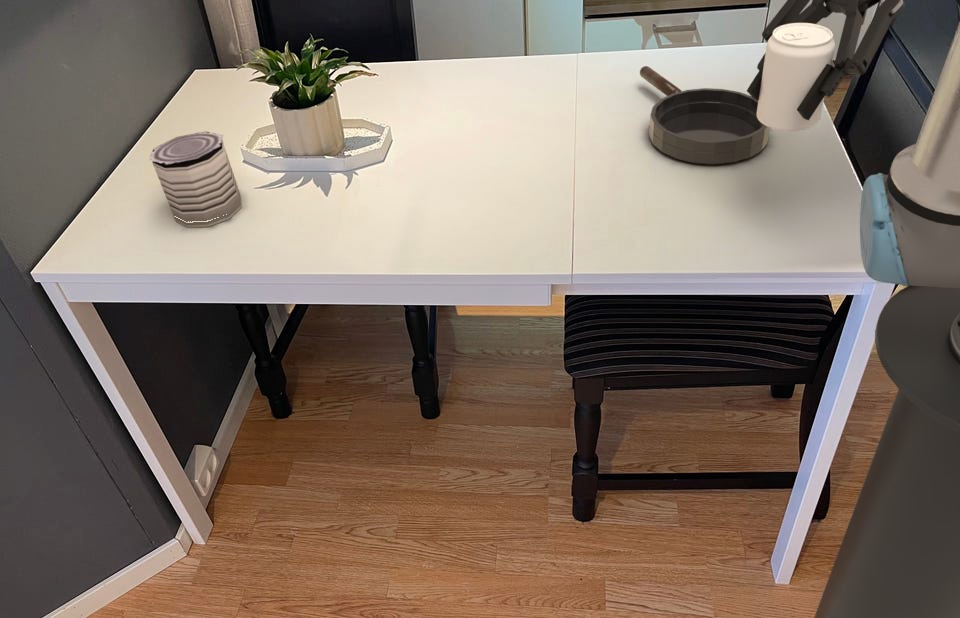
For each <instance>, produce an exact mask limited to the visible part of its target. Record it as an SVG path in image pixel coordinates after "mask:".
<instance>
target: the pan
mask: <svg viewBox="0 0 960 618" xmlns="http://www.w3.org/2000/svg"><path fill="white" fill-rule="evenodd" d="M757 107H758V101H757V100H755V99H753V97H752V96H751V95H750V94H747V93H743V92H742V91H741V92H740V91H735V90H731V89H724V88H711V87H709V88H707V87H704V88H703V87H702V88H692V89H686V90H685V89H684V90H681V92H677V93H673V94H671V95H669V96H666V95H665V97H662V98H660V99H659V100H658V101H657V102H656V103H655V104H654V105H653V106H652V108H651V111H650V116H649V131H648V132H649V134H648V135H649V136H648V137H649V139H650V141H651V143H652V145H653V146H654V147H655V148H657V149H658V150H659V151H660V152H661V153H663V154H665V155H667V156H669V157H671V158H674V159H676V160H679V161H681V162H687V163H689V164H698V165H725V164H732V163H736V162H740V161H743V160H746V159H748V158H752V157H753V156H755V155H757V154H758V153H760V152H762V150H763V149H764V148H765V147H766V146H767V144H768V143H769V139H770V138H769V137H770V131H771V128H770V127H768V126H766V125H764V124H762V123H761V122H760V121H759V120H758V118H757Z"/></svg>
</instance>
